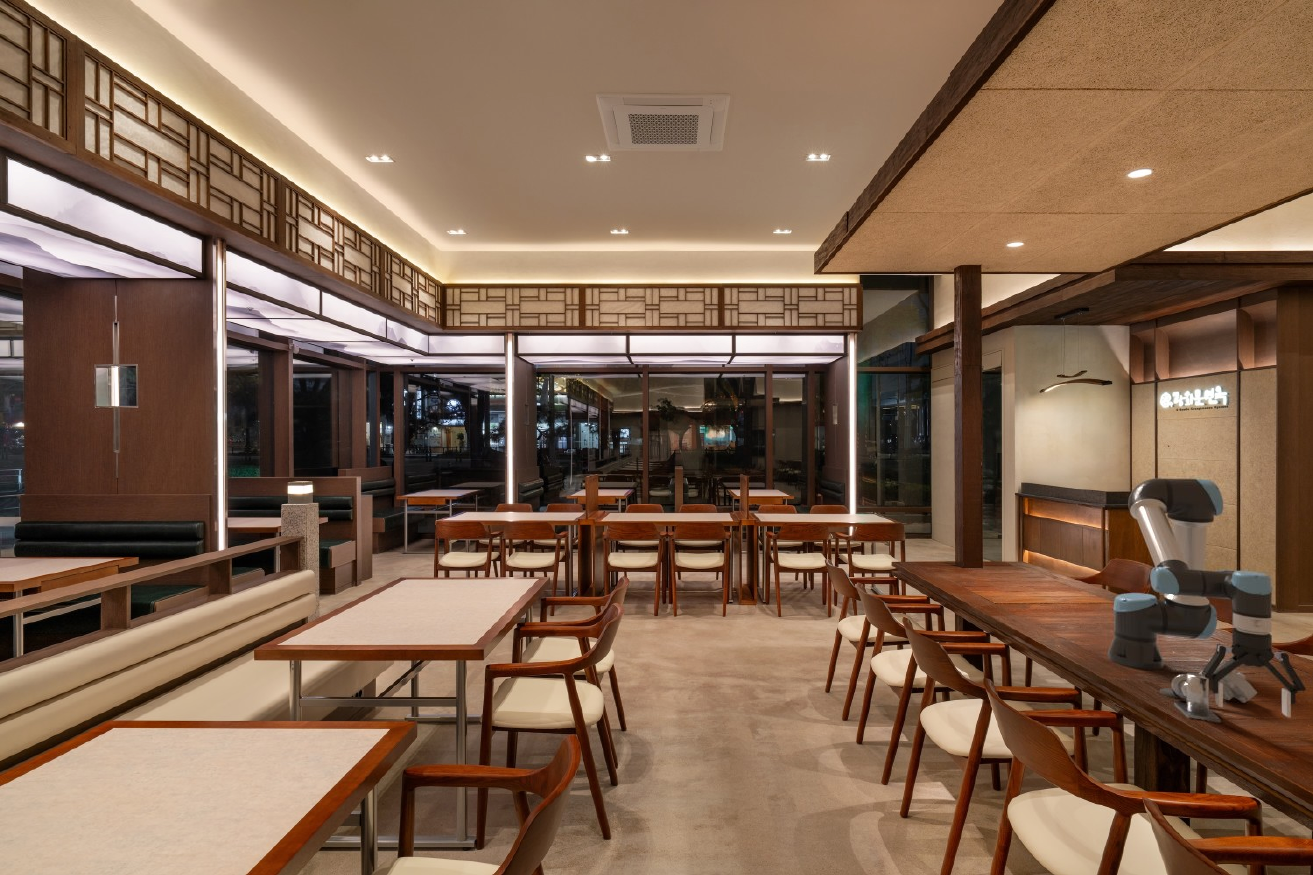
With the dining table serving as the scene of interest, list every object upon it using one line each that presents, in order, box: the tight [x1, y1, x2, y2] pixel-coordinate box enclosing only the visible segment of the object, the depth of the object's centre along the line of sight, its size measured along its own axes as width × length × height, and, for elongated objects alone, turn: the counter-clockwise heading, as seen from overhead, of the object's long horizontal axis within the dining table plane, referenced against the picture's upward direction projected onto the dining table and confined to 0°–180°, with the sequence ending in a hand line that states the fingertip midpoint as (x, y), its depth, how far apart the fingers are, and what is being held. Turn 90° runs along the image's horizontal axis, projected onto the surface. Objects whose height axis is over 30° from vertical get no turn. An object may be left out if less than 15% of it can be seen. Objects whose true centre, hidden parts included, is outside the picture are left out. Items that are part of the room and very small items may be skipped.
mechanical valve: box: [1171, 655, 1258, 704], centre depth 179 cm, size 10×18×15 cm
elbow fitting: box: [1170, 672, 1222, 723], centre depth 171 cm, size 12×7×11 cm, turn 159°
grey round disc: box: [1159, 688, 1181, 700], centre depth 183 cm, size 6×6×1 cm
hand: (1252, 710), depth 162 cm, fingers open, 13 cm apart
